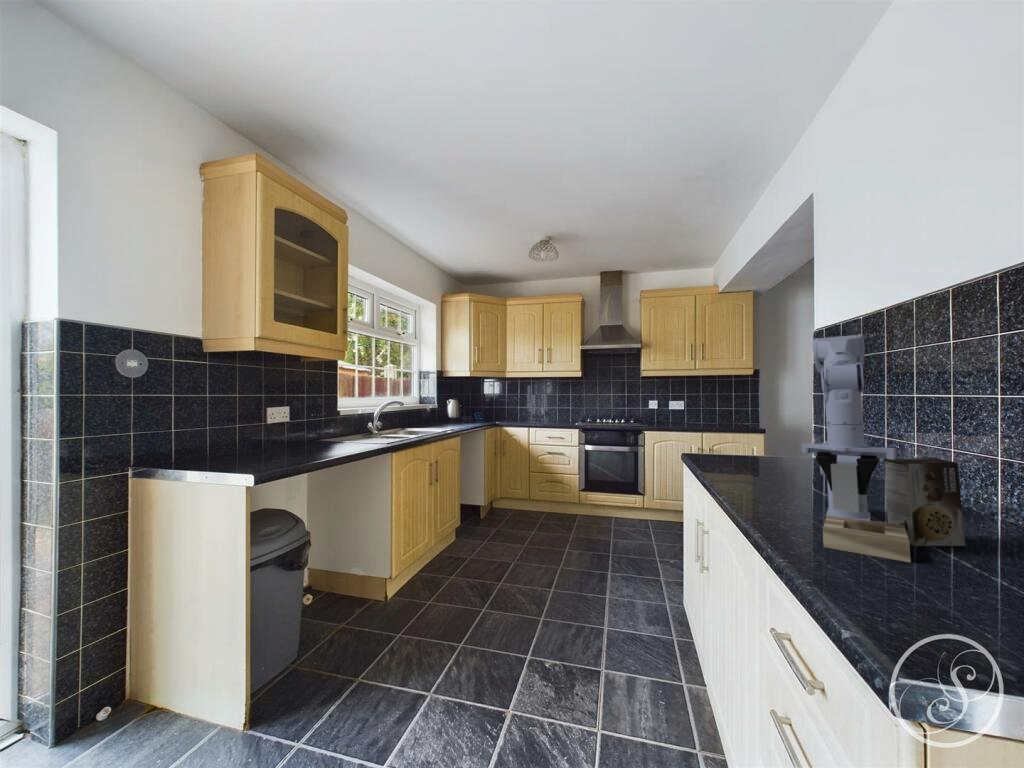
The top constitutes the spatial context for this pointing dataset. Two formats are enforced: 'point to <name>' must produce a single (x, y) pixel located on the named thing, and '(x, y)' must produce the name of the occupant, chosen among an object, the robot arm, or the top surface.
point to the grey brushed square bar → (846, 487)
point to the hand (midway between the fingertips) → (848, 492)
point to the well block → (866, 537)
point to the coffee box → (925, 500)
